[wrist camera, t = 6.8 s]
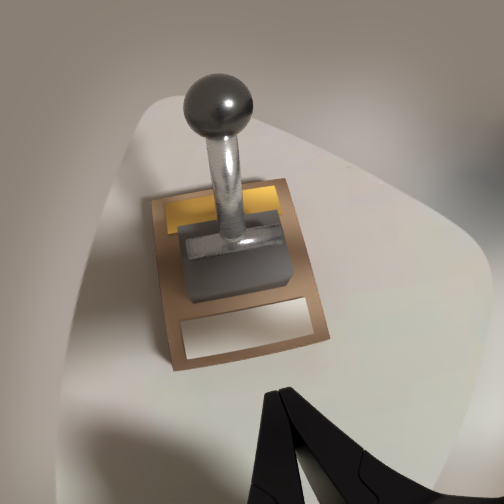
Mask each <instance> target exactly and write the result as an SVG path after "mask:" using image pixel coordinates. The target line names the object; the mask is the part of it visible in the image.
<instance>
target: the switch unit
mask: <svg viewBox="0 0 504 504" xmlns="http://www.w3.org/2000/svg"><path fill="white" fill-rule="evenodd" d="M242 192H243V203H244V213H245V224H246V228H252V227H258V226H264V225H270V224H276V223H278V224H279V225H280V228H281V232H282V238H283V243H282V245H279V246H274V247H268V248H262V249H257V250H251V251H246V252H240V253H235V254H229V255H224V256H218V257H213V258H207V259H202V260H196V261H190V262H189V259H188V254H187V249H186V241H185V240H186V239H190V238H195V237H201V236H207V235H212V234H218V233H219V228H218V222H217V215H216V208H215V201H214V194H213V189H210V190H204V191H198V192H192V193H187V194H181V195H176V196H171V197H166V198H161V199H155V200H151V202H152V215H153V227H154V238H155V248H156V258H157V267H158V275H159V283H160V291H161V298H162V306H163V312H164V319H165V325H166V332H167V338H168V344H169V349H170V355H171V361H172V366H173V371H181V370H188V369H194V368H200V367H206V366H212V365H218V364H223V363H229V362H234V361H239V360H244V359H249V358H254V357H259V356H264V355H268V354H273V353H277V352H282V351H286V350H290V349H294V348H298V347H303V346H307V345H311V344H314V343H318V342H322V341H325V340H328V339H330V336H329V332H328V328H327V324H326V320H325V316H324V312H323V308H322V304H321V300H320V297H319V293H318V289H317V285H316V282H315V278H314V274H313V271H312V267H311V263H310V260H309V256H308V253H307V249H306V246H305V242H304V239H303V235H302V232H301V229H300V225H299V222H298V218H297V215H296V212H295V208H294V205H293V202H292V199H291V195H290V192H289V189H288V186H287V182H286V179H285V178H282V179H275V180H268V181H261V182H254V183H247V184H242Z"/></svg>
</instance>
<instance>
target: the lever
mask: <svg viewBox="0 0 504 504" xmlns="http://www.w3.org/2000/svg"><path fill="white" fill-rule="evenodd" d="M183 110H184V116H185V119H186V121H187V123H188V125H189V126H190V127H191V129H192V130H193V131H194V132H196V133H197V134H198V135H200V136H202V137H205V138H206V144H207V151H208V159H209V166H210V173H211V180H212V187H213V194H214V201H215V208H216V215H217V222H218V228H219V233H218V234H212V235H207V236H201V237H195V238H190V239H186V240H185V241H186V249H187V254H188V259H189V262H190V261H196V260H202V259H207V258H213V257H218V256H224V255H229V254H235V253H240V252H246V251H251V250H257V249H262V248H268V247H274V246H279V245H282V243H283V238H282V232H281V228H280V225H279V224H278V223H276V224H270V225H264V226H258V227H252V228H246V224H245V213H244V203H243V192H242V181H241V171H240V160H239V149H238V139H237V134H238V133H239V132H241V131H242V130H243V129H244V128H245V127H246V125H247V124H248V122H249V121H250V118H251V116H252V112H253V101H252V96H251V94H250V91H249V90H248V88H247V87H246V86H245V84H244V83H242V82H241V81H240V80H239V79H237V78H235V77H233V76H230V75H227V74H211V75H208V76H205V77H203V78H201V79H199V80H198V81H196V82H195V83H194V84H193V85H192V86H191V87H190V89H189V90H188V92H187V94H186V96H185V99H184V105H183Z"/></svg>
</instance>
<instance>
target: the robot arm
mask: <svg viewBox="0 0 504 504" xmlns="http://www.w3.org/2000/svg"><path fill="white" fill-rule="evenodd" d="M363 450H364V449H363V448H362V447H361V446H360V445H359V444H357V443H356V442H355V441H354V440H352V439H351V438H350V437H349V436H348V435H346V434H345V433H344V432H343V431H342V430H340V429H339V428H338V427H337V426H336V425H334V424H333V423H332V422H331V421H330V420H328V419H327V418H326V417H325V416H324V415H323V414H321V413H320V412H319V411H318V410H317V409H316V408H315V407H313V406H312V405H311V404H310V403H309V402H308V401H307V400H305V399H304V398H303V397H302V396H301V395H300V394H299V393H298V392H296V391H295V390H294V389H293V388H292V387H286V388H282V389H279V390H278V391H277V390H274V391H271V392H267V393H265V395H264V401H263V408H262V415H261V422H260V429H259V436H258V442H257V449H256V455H255V462H254V468H253V474H252V481H251V483H252V484H251V486H250V492H249V497H248V502H247V504H305V501H304V496H303V490H302V485H301V479H300V474H299V468H298V463H297V459H298V461H299V463H300V465H301V467H302V469H303V471H304V473H305V475H306V477H307V479H308V481H309V483H310V485H311V487H312V489H313V491H314V493H315V495H316V497H317V499H318V501H319V503H320V504H504V496H503V497H499V498H483V497H467V496H466V497H465V496H455V495H447V494H441V493H438V492H435V491H433V490H430V489H428V488H426V487H424V486H422V485H420V484H418V483H416V482H415V481H413V480H411V479H409V478H407V477H405V476H403V475H402V474H400V473H398V472H396V471H395V470H393V469H391V468H390V467H388V466H386V465H385V464H383V463H382V462H381V461H379V460H378V459H377V458H375V457H374V456H373V455H371V454H370V453H369V452H367V451H366V450H364V451H363Z"/></svg>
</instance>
